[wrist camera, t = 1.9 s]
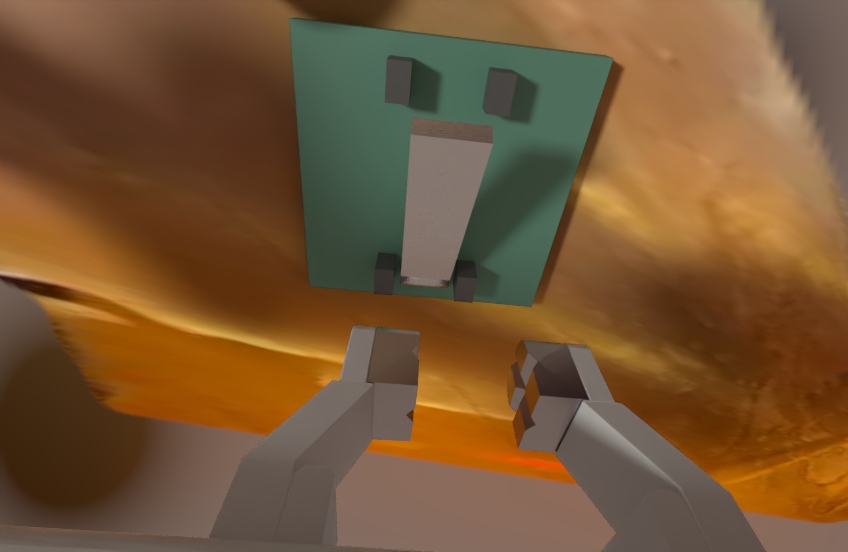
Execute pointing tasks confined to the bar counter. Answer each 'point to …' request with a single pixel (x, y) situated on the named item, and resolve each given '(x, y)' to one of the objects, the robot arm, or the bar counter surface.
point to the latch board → (390, 145)
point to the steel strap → (440, 196)
